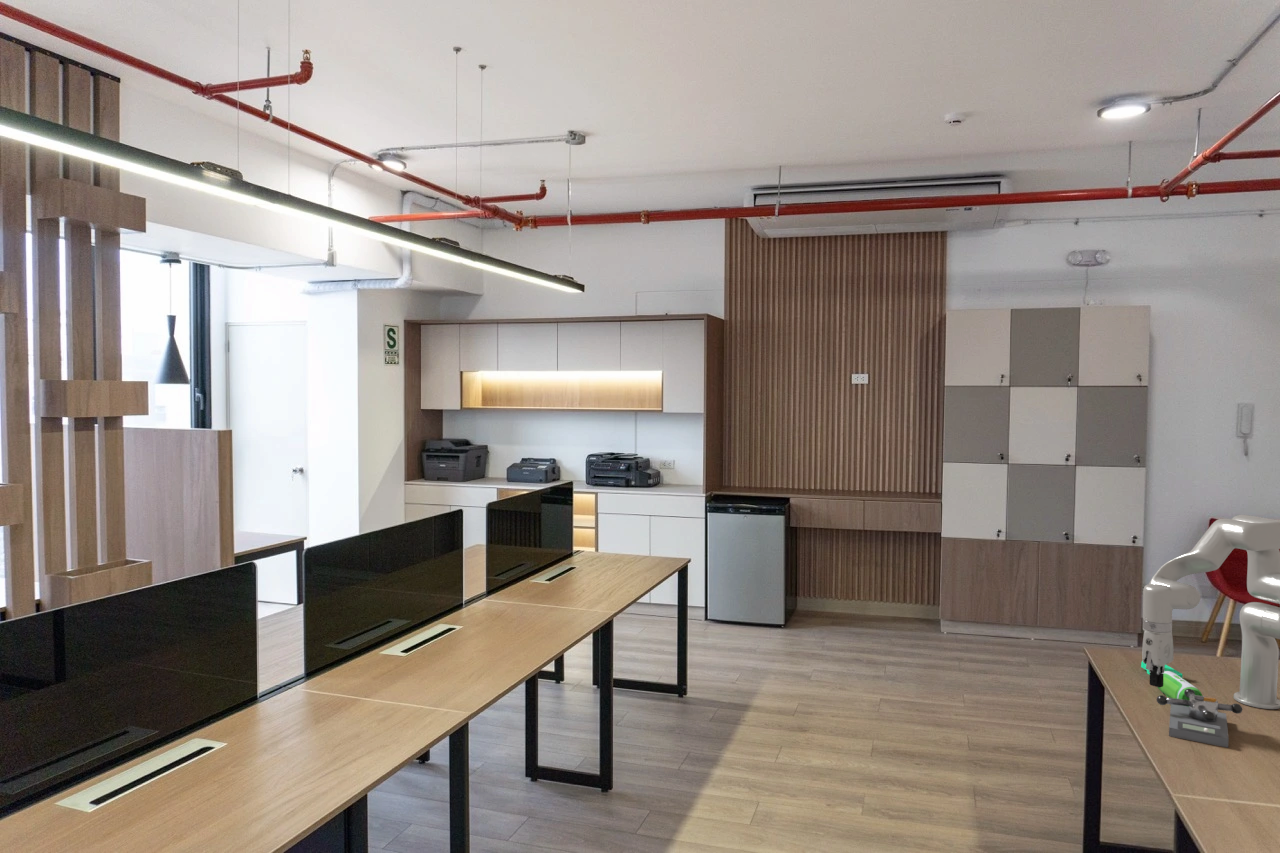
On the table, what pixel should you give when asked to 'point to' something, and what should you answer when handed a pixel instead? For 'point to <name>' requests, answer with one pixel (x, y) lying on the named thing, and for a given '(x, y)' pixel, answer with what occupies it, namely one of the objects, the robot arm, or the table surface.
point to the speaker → (1176, 686)
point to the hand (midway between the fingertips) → (1156, 685)
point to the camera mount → (1164, 669)
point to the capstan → (1200, 705)
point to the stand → (1198, 727)
